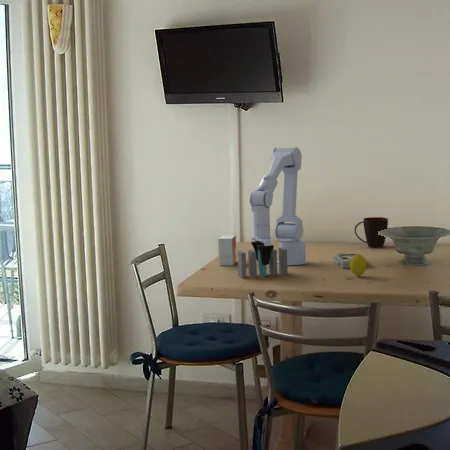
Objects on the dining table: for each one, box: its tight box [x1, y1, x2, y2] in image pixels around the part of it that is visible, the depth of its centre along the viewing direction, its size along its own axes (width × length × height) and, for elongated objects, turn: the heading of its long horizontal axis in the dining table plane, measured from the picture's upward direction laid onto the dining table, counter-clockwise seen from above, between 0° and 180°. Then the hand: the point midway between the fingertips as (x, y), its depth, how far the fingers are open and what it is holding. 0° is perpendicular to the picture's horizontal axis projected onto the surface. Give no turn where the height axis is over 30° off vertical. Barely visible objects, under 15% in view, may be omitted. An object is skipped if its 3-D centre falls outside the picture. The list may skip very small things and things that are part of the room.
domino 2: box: [247, 249, 258, 278], centre depth 241 cm, size 2×5×9 cm, turn 13°
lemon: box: [349, 253, 368, 277], centre depth 235 cm, size 6×6×8 cm
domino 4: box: [278, 247, 288, 276], centre depth 244 cm, size 2×5×9 cm, turn 13°
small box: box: [217, 235, 238, 266], centre depth 265 cm, size 8×6×10 cm
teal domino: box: [257, 249, 268, 278], centre depth 242 cm, size 2×5×9 cm, turn 12°
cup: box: [354, 216, 389, 249], centre depth 290 cm, size 10×14×12 cm
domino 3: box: [268, 248, 278, 277], centre depth 243 cm, size 2×5×9 cm, turn 13°
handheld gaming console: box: [333, 252, 367, 270], centre depth 256 cm, size 9×4×15 cm
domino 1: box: [237, 249, 247, 279], centre depth 240 cm, size 2×5×9 cm, turn 13°
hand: (262, 262), depth 242 cm, fingers open, 6 cm apart
